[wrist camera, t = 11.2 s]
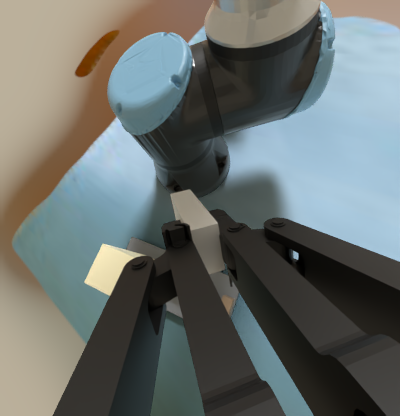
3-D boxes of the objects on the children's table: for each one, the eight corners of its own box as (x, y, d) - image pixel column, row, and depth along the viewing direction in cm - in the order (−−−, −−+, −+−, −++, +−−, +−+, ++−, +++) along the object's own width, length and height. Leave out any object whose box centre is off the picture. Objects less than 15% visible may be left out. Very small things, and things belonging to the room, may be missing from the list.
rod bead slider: (115, 282, 44) (98, 282, 39) (135, 238, 46) (121, 232, 41) (224, 336, 37) (219, 344, 32) (242, 281, 39) (240, 280, 34)
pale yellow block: (138, 283, 41) (84, 282, 28) (149, 256, 42) (102, 243, 29) (162, 294, 39) (116, 299, 26) (173, 266, 40) (134, 257, 28)
